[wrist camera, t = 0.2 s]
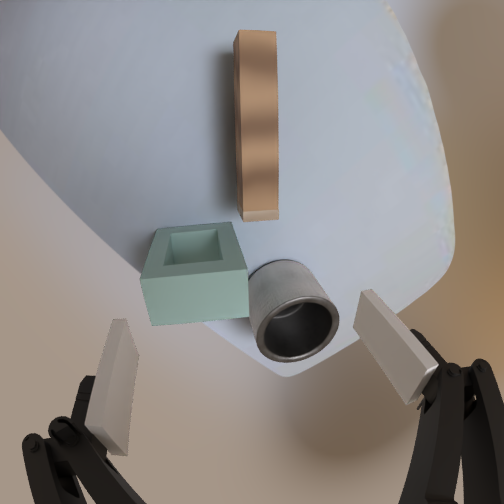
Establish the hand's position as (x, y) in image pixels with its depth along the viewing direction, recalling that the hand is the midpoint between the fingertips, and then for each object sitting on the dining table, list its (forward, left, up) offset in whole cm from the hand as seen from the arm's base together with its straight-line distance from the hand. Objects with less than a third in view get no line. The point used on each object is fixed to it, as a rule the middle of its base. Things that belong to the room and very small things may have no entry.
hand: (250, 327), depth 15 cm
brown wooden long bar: (-10, +5, -23) cm, 26 cm away
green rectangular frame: (+7, -3, -27) cm, 28 cm away
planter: (+17, +10, -28) cm, 34 cm away
